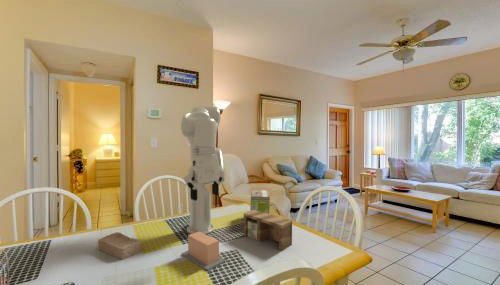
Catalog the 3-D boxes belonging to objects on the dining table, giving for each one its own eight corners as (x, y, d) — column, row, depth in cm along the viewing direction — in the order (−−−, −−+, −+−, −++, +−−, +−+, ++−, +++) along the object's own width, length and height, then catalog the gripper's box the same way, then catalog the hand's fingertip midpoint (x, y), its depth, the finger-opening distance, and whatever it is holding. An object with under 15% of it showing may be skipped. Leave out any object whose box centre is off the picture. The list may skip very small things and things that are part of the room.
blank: (207, 265, 82) (207, 245, 82) (188, 253, 90) (188, 235, 90) (218, 259, 86) (218, 240, 86) (199, 248, 94) (199, 231, 94)
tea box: (269, 225, 121) (270, 196, 120) (250, 225, 121) (250, 196, 120) (268, 215, 136) (268, 189, 135) (250, 215, 136) (250, 189, 135)
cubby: (243, 235, 108) (243, 213, 108) (254, 230, 113) (254, 209, 113) (282, 250, 94) (282, 225, 94) (291, 244, 99) (292, 220, 99)
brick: (142, 251, 94) (142, 239, 94) (122, 261, 86) (122, 248, 86) (117, 242, 102) (117, 231, 102) (97, 250, 95) (96, 238, 94)
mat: (181, 254, 91) (181, 253, 91) (198, 247, 96) (198, 246, 96) (207, 271, 80) (207, 269, 80) (225, 261, 86) (225, 260, 86)
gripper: (190, 153, 79) (190, 204, 80) (229, 150, 92) (229, 194, 92) (178, 152, 84) (178, 199, 85) (216, 149, 97) (216, 191, 98)
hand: (205, 197), depth 89 cm, fingers open, 9 cm apart
